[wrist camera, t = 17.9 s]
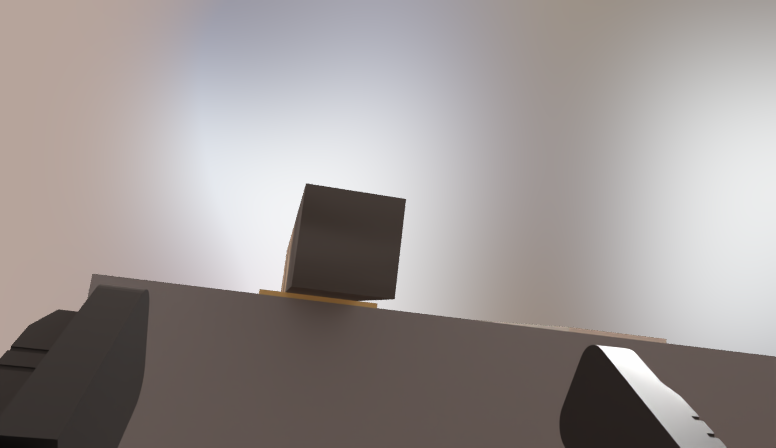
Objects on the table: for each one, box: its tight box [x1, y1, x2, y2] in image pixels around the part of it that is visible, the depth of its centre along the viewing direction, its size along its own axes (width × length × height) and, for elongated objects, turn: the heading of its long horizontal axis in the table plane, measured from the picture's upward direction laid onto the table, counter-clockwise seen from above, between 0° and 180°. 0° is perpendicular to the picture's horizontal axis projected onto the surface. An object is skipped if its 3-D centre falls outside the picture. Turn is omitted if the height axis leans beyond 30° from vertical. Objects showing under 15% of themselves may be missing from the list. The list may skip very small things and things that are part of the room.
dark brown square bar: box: [281, 184, 406, 301], centre depth 28 cm, size 22×3×3 cm, turn 11°
